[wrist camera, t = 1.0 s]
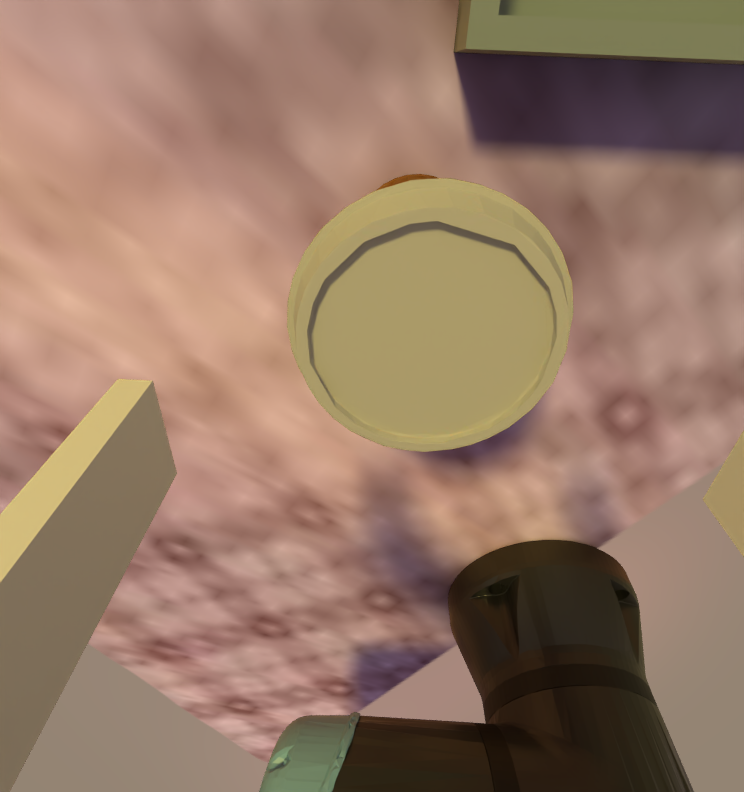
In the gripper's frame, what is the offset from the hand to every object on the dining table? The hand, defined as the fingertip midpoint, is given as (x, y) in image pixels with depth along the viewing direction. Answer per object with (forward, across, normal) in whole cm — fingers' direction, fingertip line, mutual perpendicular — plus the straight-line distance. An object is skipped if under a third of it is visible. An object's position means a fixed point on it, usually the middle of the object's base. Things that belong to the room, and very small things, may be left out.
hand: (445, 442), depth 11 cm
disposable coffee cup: (+17, 0, 0) cm, 17 cm away
